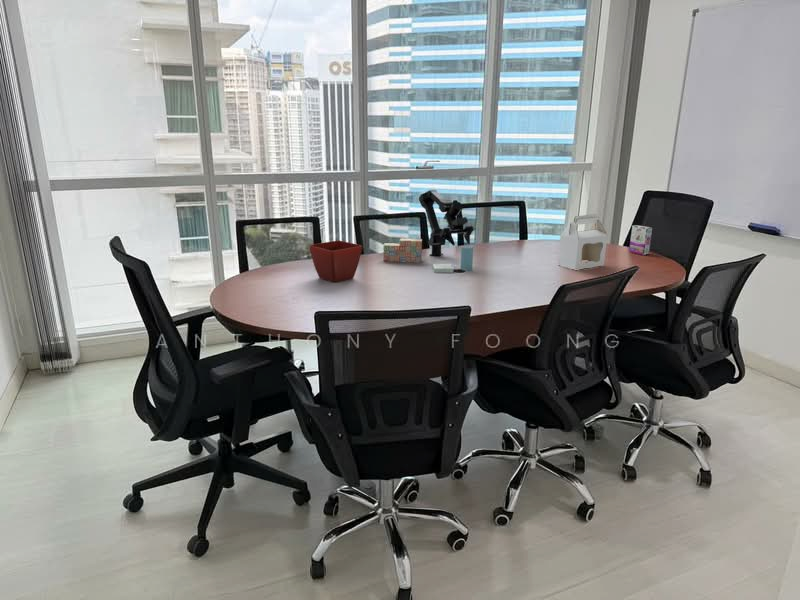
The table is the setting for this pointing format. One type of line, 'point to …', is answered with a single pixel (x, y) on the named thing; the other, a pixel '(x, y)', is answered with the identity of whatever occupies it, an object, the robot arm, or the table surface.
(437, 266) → the base tile
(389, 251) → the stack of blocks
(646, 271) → the table surface
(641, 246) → the candy bar box
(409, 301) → the table surface
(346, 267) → the plant pot
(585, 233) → the gable box
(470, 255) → the teal pillar
